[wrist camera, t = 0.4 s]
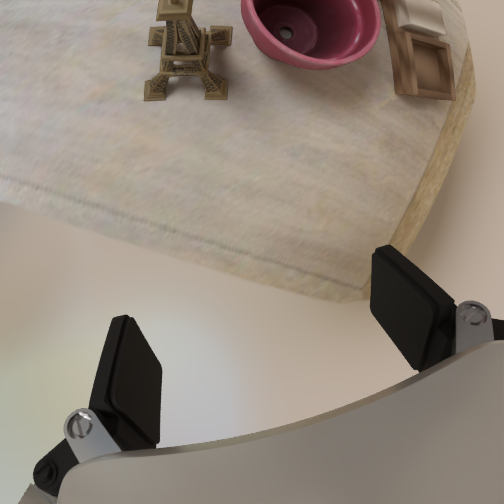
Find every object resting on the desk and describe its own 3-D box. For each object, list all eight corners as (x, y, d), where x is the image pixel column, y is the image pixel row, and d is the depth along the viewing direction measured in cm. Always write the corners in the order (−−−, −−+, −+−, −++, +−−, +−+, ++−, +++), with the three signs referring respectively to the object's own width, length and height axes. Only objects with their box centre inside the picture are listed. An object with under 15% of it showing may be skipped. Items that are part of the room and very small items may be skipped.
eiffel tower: (231, 27, 29) (282, -82, 7) (226, 99, 33) (272, 68, 11) (150, 28, 27) (90, -73, 5) (144, 101, 31) (53, 80, 9)
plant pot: (236, -16, 25) (253, -62, 14) (334, 3, 28) (381, -26, 17) (225, 73, 32) (238, 51, 20) (328, 87, 34) (379, 81, 23)
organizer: (379, -6, 27) (396, -14, 23) (424, 7, 28) (442, 3, 24) (395, 94, 36) (415, 94, 31) (437, 99, 37) (457, 101, 32)
